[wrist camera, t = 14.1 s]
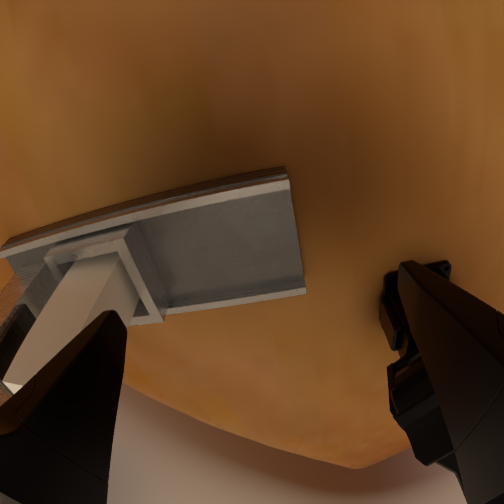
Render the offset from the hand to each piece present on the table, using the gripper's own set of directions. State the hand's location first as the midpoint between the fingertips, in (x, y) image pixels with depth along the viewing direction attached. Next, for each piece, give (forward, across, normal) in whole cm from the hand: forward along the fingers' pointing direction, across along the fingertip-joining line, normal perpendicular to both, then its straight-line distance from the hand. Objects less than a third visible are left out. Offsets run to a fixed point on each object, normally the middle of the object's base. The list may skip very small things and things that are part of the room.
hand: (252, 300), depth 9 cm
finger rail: (+13, +10, +5) cm, 17 cm away
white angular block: (+12, +12, +5) cm, 17 cm away
